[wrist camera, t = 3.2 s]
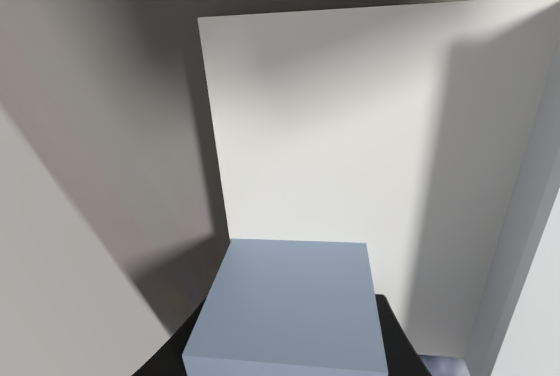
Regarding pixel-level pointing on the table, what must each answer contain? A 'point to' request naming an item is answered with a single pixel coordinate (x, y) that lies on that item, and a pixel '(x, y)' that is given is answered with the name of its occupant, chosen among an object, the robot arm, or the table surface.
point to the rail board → (407, 159)
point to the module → (289, 313)
